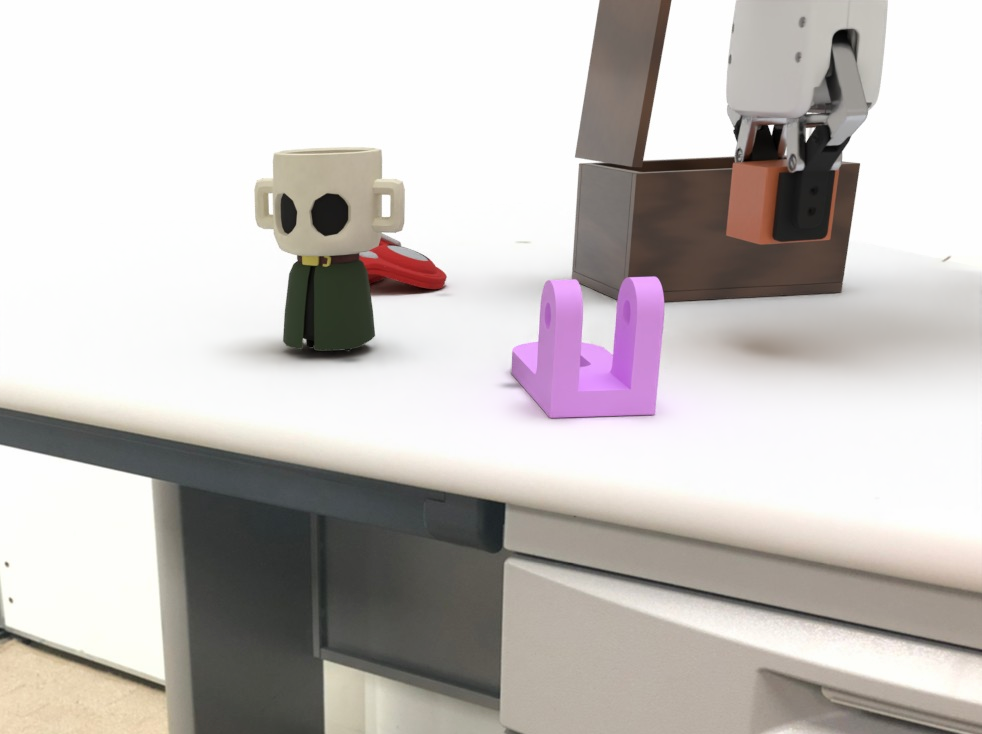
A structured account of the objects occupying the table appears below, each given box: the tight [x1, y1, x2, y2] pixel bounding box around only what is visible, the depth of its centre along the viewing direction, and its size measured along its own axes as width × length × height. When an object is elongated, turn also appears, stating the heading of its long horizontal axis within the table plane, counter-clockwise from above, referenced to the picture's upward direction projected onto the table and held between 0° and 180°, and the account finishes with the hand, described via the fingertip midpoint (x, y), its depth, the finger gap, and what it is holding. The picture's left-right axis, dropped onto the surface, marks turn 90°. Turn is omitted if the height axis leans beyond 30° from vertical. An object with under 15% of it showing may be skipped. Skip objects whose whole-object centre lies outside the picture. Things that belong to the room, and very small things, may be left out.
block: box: [726, 159, 839, 245], centre depth 74 cm, size 4×4×4 cm
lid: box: [574, 0, 672, 167], centre depth 92 cm, size 18×13×6 cm
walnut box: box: [571, 154, 861, 303], centre depth 98 cm, size 18×13×10 cm
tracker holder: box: [359, 232, 448, 290], centre depth 106 cm, size 12×4×10 cm
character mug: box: [253, 146, 406, 352], centre depth 80 cm, size 11×7×13 cm, turn 60°
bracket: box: [510, 277, 665, 419], centre depth 69 cm, size 13×6×7 cm, turn 179°
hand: (777, 231), depth 75 cm, fingers closed on block, 4 cm apart
